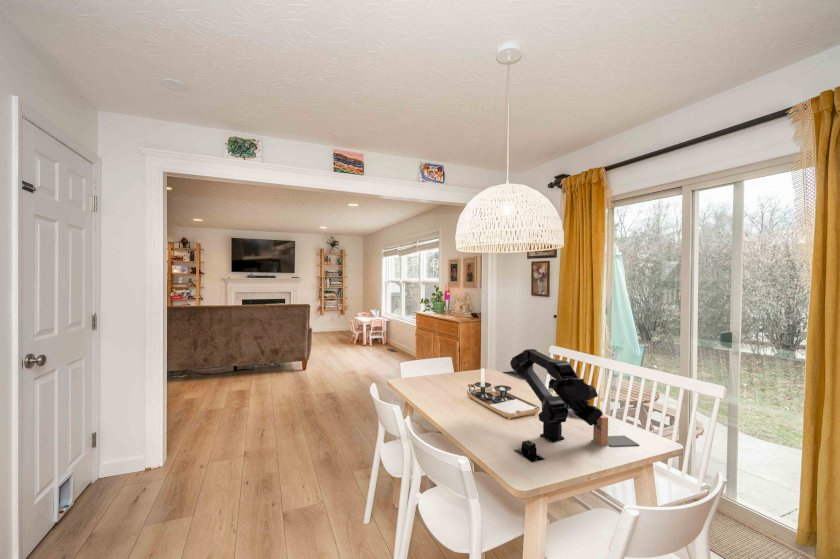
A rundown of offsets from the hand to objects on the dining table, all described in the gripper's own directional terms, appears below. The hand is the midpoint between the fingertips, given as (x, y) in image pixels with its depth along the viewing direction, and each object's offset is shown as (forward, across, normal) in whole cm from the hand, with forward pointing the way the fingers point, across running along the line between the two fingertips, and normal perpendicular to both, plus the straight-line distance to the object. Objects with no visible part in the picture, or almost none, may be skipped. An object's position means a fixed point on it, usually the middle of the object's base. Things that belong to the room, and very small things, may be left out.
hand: (596, 423), depth 137 cm
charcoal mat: (+11, 0, -2) cm, 12 cm away
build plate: (-15, -7, +26) cm, 30 cm away
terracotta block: (+6, 0, +4) cm, 7 cm away
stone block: (+12, +29, -1) cm, 32 cm away
